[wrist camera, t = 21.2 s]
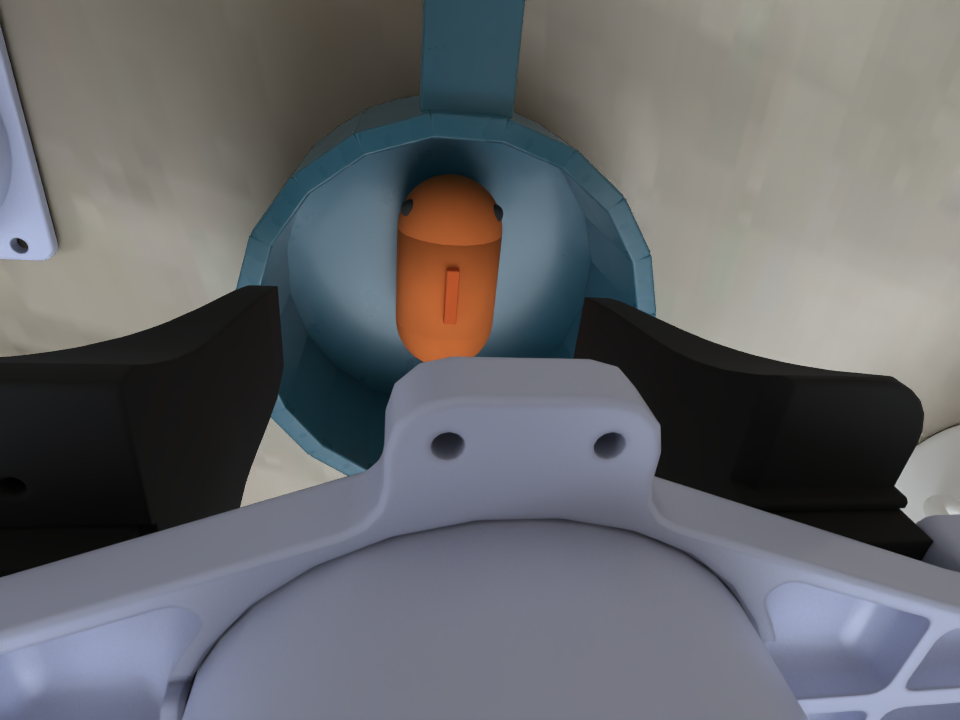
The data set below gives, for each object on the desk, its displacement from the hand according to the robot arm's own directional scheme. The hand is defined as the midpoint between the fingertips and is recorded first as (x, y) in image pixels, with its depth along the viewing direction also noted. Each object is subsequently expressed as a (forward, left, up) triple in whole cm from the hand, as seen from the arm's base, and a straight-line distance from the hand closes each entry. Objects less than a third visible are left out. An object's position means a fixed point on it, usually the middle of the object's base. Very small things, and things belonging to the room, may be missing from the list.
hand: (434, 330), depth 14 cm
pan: (+1, -2, -8) cm, 9 cm away
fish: (+1, -1, -8) cm, 8 cm away
